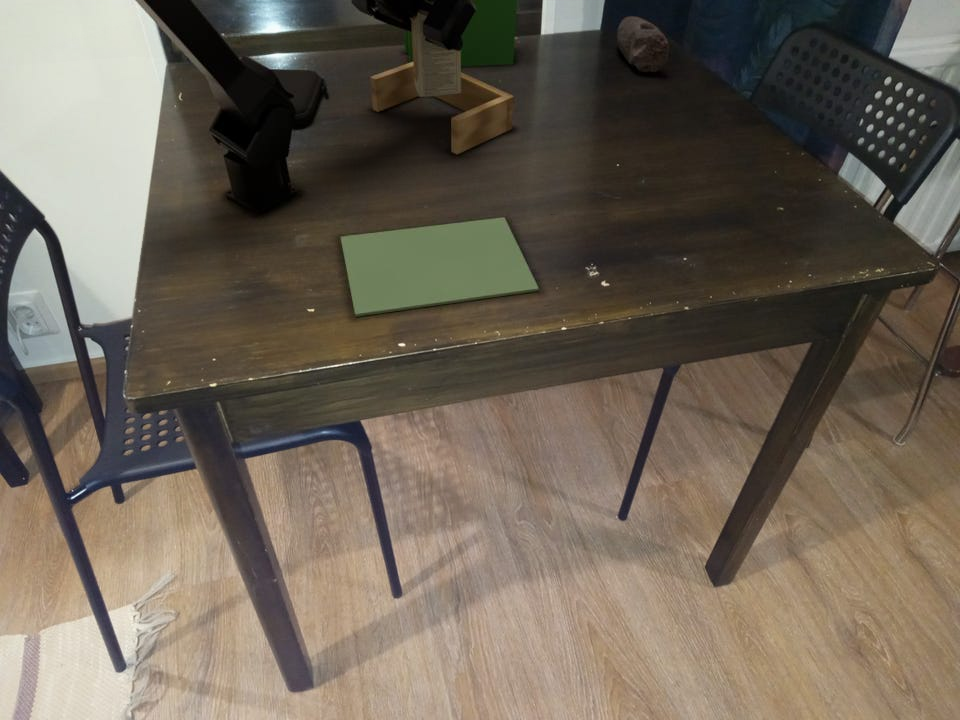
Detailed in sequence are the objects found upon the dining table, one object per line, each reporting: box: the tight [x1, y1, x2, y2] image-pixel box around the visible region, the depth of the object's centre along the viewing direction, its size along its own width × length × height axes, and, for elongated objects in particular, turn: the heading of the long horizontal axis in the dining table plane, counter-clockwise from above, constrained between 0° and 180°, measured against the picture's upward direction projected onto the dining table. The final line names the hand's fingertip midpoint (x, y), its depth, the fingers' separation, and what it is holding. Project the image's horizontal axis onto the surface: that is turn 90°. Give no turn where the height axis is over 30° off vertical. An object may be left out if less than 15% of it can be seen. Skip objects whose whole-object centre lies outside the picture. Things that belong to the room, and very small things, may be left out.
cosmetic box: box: [411, 12, 462, 98], centre depth 96 cm, size 6×4×12 cm
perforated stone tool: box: [616, 15, 670, 73], centre depth 118 cm, size 15×5×7 cm, turn 12°
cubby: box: [369, 62, 515, 155], centre depth 102 cm, size 11×18×5 cm, turn 45°
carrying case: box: [270, 68, 328, 126], centre depth 104 cm, size 11×3×15 cm
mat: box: [340, 216, 540, 318], centre depth 79 cm, size 20×14×1 cm
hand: (444, 40), depth 96 cm, fingers closed on cosmetic box, 6 cm apart
